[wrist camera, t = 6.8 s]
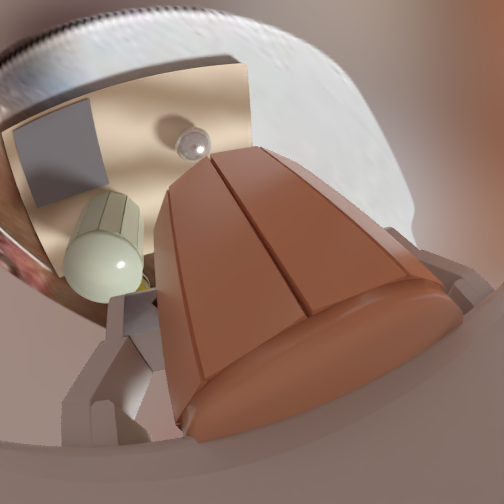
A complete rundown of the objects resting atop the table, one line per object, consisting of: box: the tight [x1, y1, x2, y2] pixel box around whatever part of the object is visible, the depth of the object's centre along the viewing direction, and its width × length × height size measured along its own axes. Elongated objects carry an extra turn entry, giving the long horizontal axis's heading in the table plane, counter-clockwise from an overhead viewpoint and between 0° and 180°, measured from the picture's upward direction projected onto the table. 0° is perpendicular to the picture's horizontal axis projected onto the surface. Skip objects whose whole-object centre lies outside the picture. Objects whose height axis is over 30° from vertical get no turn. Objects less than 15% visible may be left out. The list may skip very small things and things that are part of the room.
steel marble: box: [175, 127, 212, 162], centre depth 21 cm, size 3×3×3 cm
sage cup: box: [63, 192, 144, 303], centre depth 21 cm, size 6×6×8 cm
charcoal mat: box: [13, 99, 109, 209], centre depth 19 cm, size 8×8×1 cm
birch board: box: [2, 63, 253, 278], centre depth 23 cm, size 17×23×2 cm
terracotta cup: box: [153, 146, 463, 443], centre depth 8 cm, size 6×6×8 cm
